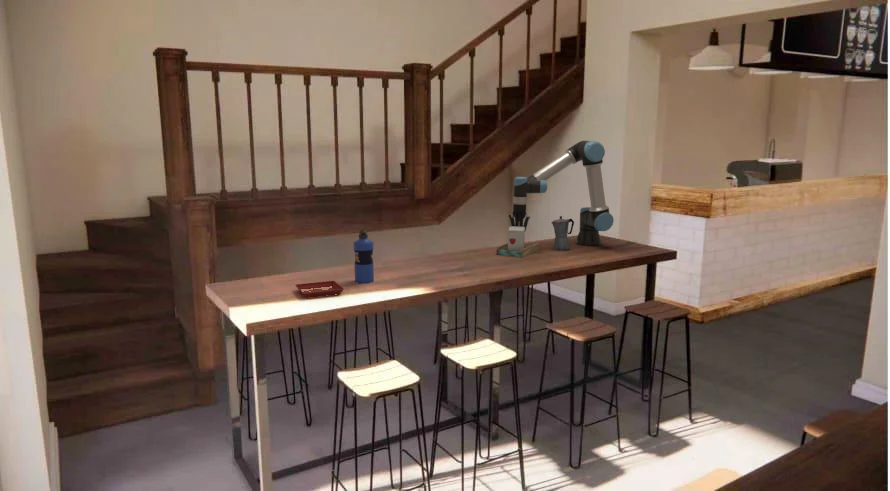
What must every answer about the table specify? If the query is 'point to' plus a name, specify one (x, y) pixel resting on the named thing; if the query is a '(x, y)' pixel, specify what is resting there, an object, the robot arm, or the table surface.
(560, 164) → the robot arm
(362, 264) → the water bottle
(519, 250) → the supplement box
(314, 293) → the plant saucer
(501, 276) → the table surface
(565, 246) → the moka pot
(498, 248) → the tray
